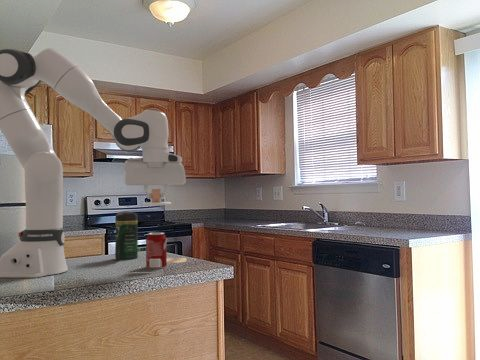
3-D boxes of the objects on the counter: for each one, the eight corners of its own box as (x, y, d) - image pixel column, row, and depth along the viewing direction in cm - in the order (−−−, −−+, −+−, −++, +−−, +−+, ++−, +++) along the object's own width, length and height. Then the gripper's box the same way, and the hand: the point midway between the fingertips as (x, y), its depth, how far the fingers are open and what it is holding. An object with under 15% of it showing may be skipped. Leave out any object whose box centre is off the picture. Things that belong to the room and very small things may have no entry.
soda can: (162, 270, 139) (161, 234, 140) (142, 270, 141) (142, 234, 141) (169, 267, 146) (169, 232, 146) (151, 266, 147) (151, 232, 148)
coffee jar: (140, 260, 162) (140, 211, 163) (119, 261, 158) (119, 212, 159) (133, 256, 171) (133, 210, 171) (113, 258, 167) (113, 211, 167)
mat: (158, 264, 151) (158, 263, 151) (159, 260, 161) (159, 258, 161) (186, 263, 153) (186, 262, 153) (186, 259, 163) (186, 257, 163)
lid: (139, 205, 139) (139, 189, 139) (142, 204, 148) (142, 189, 149) (170, 204, 140) (170, 188, 140) (171, 204, 150) (171, 188, 150)
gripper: (122, 157, 140) (123, 199, 140) (185, 156, 143) (186, 198, 142) (125, 158, 146) (126, 199, 146) (185, 158, 149) (186, 197, 148)
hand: (156, 198), depth 144 cm, fingers closed on lid, 3 cm apart
